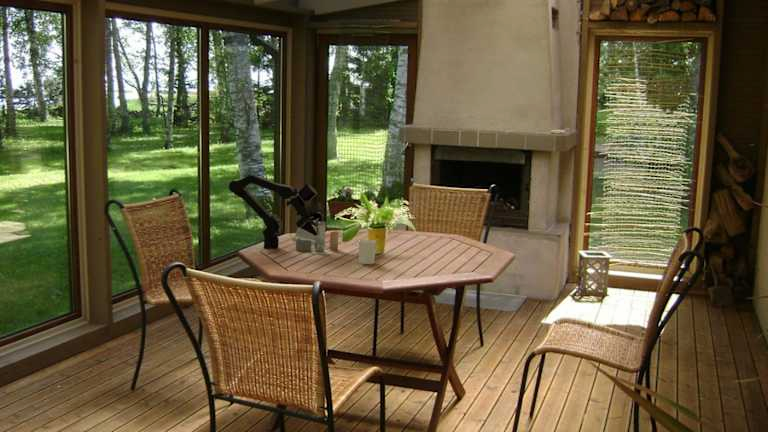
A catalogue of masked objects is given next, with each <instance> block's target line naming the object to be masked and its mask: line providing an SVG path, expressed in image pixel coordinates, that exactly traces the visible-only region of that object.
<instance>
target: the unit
mask: <svg viewBox="0 0 768 432" xmlns="http://www.w3.org/2000/svg"><path fill="white" fill-rule="evenodd" d="M311 250H312V245H311V239H300V238H298V239H296V242H295V251H301V252H304V251H306V252H308V251H309V252H311Z"/></svg>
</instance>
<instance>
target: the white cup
mask: <svg viewBox="0 0 768 432" xmlns="http://www.w3.org/2000/svg"><path fill="white" fill-rule="evenodd" d="M376 248H377V241H376V240H374V239H368V238H367V239H366V238H365V239H364V238H363V239H359V240H358V263H359V264H362V265H374V264H375V259H376V258H375V257H376V250H377V249H376Z"/></svg>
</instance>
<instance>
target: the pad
mask: <svg viewBox="0 0 768 432" xmlns="http://www.w3.org/2000/svg"><path fill="white" fill-rule="evenodd" d="M310 253H311V255H330V253H329V250H328V249H324V252H322V253H318V252H315V249H311V251H310Z"/></svg>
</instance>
